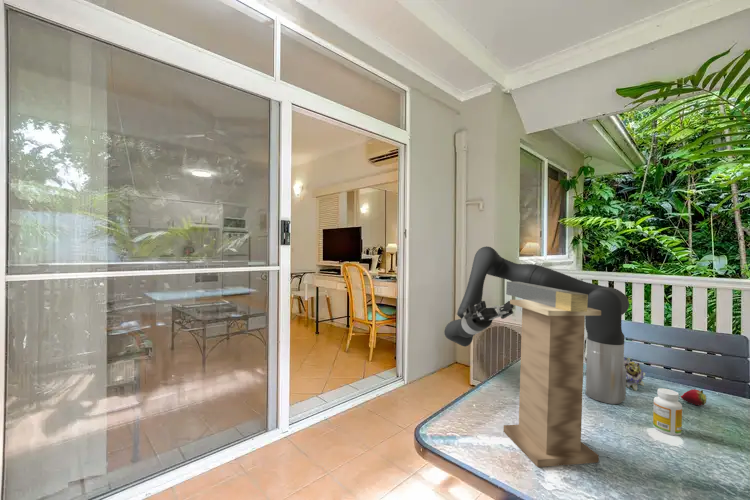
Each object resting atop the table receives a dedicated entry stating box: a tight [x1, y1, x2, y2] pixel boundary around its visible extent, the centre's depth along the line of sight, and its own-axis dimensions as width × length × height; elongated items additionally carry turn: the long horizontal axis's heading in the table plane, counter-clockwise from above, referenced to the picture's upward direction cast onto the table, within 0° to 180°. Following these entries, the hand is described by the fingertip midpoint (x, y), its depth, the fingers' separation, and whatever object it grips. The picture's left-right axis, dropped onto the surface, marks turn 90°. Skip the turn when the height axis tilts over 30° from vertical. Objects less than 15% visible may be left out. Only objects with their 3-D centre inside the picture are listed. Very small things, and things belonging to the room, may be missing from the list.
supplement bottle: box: [652, 387, 683, 436], centre depth 82 cm, size 5×5×10 cm
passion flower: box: [624, 357, 646, 392], centre depth 110 cm, size 11×11×12 cm
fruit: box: [680, 388, 707, 406], centre depth 97 cm, size 4×6×5 cm
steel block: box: [505, 280, 588, 312], centre depth 78 cm, size 4×24×4 cm, turn 8°
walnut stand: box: [503, 299, 601, 468], centre depth 74 cm, size 14×14×32 cm
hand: (498, 303), depth 97 cm, fingers open, 8 cm apart
